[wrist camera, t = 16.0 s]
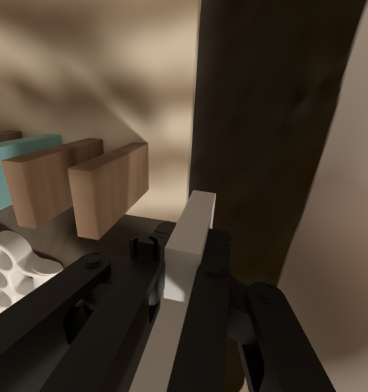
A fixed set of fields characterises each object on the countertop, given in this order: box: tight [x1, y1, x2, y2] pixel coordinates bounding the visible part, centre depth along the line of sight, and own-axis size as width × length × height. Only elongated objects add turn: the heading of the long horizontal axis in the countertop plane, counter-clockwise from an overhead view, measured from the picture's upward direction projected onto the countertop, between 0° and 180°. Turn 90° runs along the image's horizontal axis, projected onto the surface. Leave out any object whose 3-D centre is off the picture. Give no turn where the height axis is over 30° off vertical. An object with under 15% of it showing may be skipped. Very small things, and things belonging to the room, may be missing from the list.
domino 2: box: [1, 138, 104, 229], centre depth 21 cm, size 2×5×10 cm, turn 177°
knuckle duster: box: [0, 230, 63, 313], centre depth 36 cm, size 3×18×15 cm
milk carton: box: [129, 291, 188, 392], centre depth 23 cm, size 7×7×19 cm
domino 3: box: [68, 142, 149, 240], centre depth 20 cm, size 2×5×10 cm, turn 177°
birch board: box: [0, 0, 201, 222], centre depth 24 cm, size 26×30×1 cm
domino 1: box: [0, 134, 62, 210], centre depth 21 cm, size 2×5×10 cm, turn 177°
